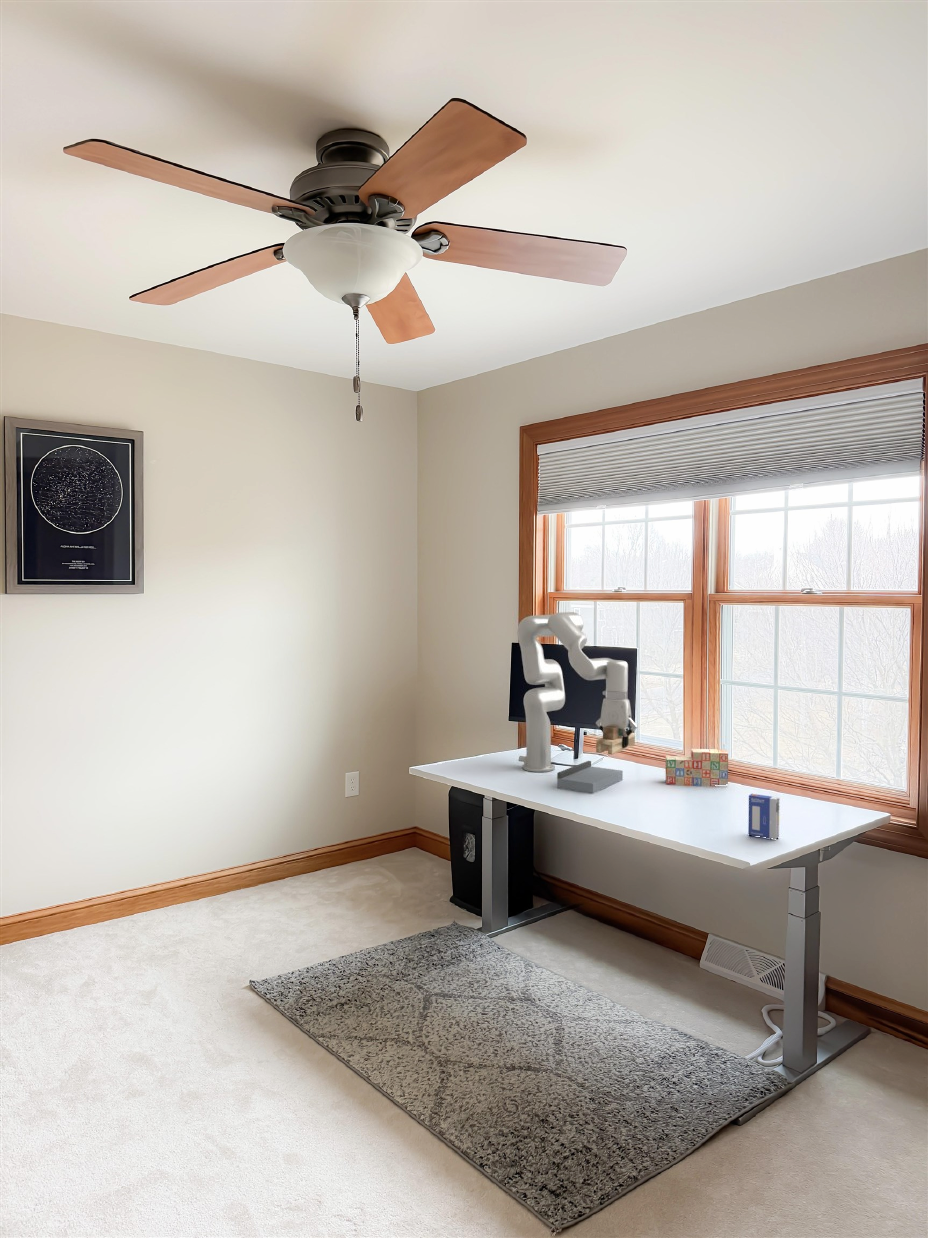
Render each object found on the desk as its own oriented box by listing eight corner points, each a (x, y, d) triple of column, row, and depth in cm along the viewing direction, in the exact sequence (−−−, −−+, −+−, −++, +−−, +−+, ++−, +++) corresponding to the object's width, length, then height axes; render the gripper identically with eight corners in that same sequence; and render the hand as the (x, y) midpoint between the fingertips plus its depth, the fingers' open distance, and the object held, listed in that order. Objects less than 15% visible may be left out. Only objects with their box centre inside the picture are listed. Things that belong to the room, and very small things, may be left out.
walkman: (748, 836, 237) (748, 794, 237) (751, 833, 240) (751, 792, 239) (776, 840, 233) (777, 798, 232) (779, 838, 235) (779, 796, 235)
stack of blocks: (666, 785, 298) (666, 751, 298) (665, 781, 305) (665, 747, 304) (728, 787, 294) (728, 752, 294) (726, 783, 301) (726, 749, 300)
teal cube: (613, 734, 297) (614, 723, 296) (618, 732, 300) (618, 721, 300) (624, 736, 294) (624, 724, 294) (628, 734, 298) (629, 723, 297)
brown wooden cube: (602, 738, 289) (602, 727, 289) (607, 736, 292) (607, 725, 292) (613, 740, 287) (613, 728, 287) (618, 738, 290) (618, 727, 290)
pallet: (596, 752, 287) (596, 739, 287) (619, 743, 303) (619, 731, 303) (612, 754, 284) (612, 742, 284) (634, 745, 300) (634, 733, 299)
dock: (557, 788, 294) (557, 772, 294) (588, 775, 314) (588, 760, 313) (593, 793, 286) (593, 778, 286) (622, 780, 306) (622, 765, 305)
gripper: (589, 694, 295) (589, 745, 295) (635, 699, 285) (634, 751, 286) (599, 692, 301) (598, 741, 302) (644, 696, 291) (643, 747, 292)
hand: (616, 745), depth 294 cm, fingers closed on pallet, 6 cm apart
